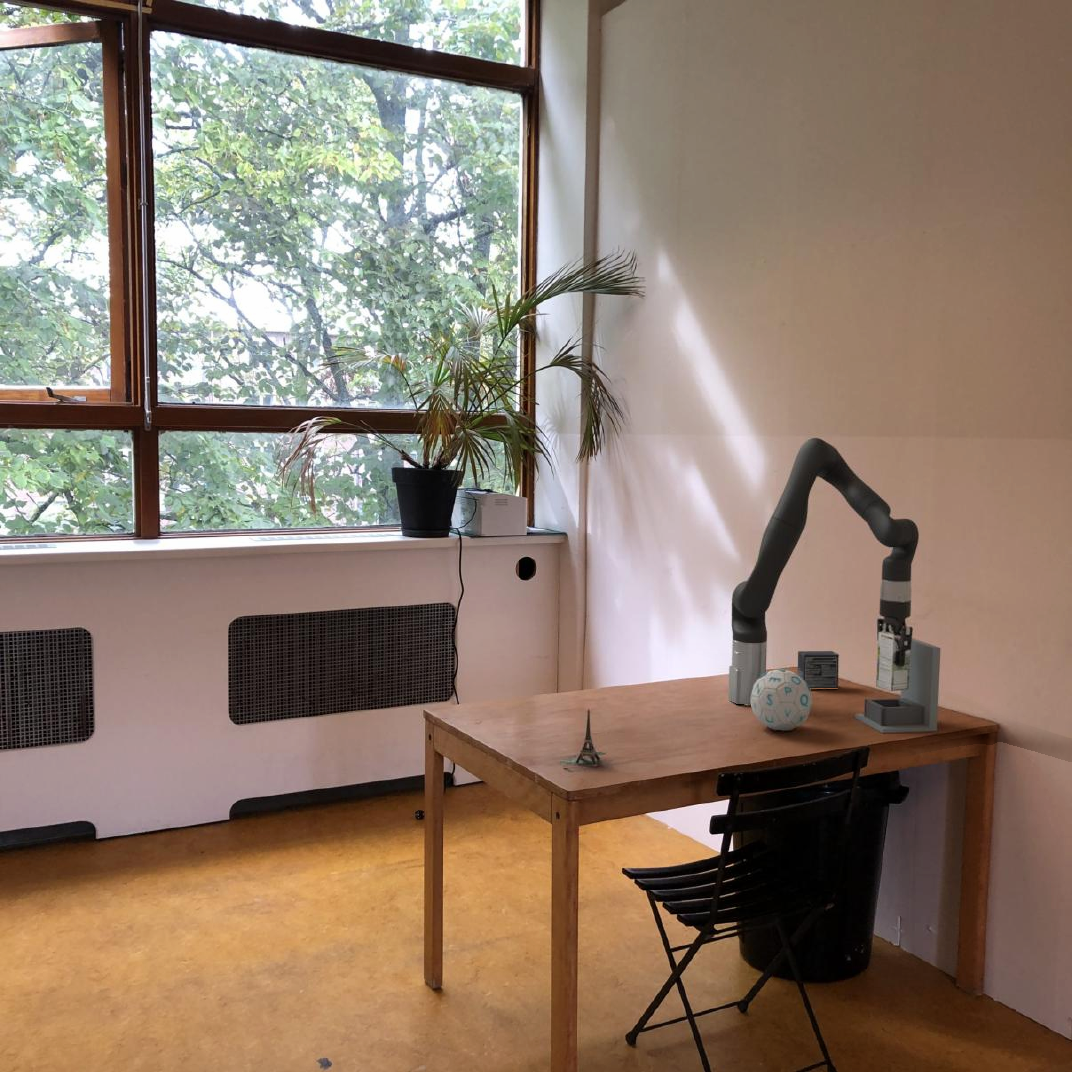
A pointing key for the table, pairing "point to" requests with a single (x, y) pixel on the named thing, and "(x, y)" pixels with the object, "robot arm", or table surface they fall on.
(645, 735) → the table surface
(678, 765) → the table surface
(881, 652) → the syrup box
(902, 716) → the wall holder
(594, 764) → the eiffel tower figurine
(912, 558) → the robot arm
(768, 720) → the puzzle ball
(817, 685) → the small box
